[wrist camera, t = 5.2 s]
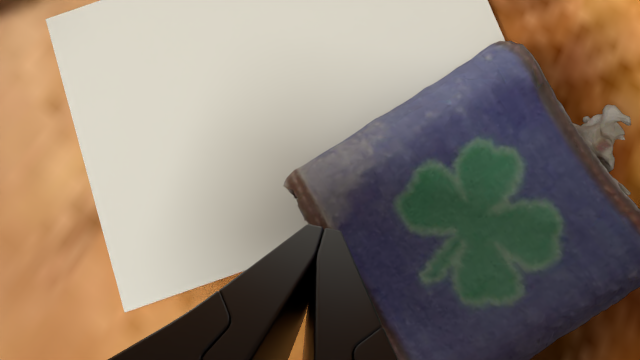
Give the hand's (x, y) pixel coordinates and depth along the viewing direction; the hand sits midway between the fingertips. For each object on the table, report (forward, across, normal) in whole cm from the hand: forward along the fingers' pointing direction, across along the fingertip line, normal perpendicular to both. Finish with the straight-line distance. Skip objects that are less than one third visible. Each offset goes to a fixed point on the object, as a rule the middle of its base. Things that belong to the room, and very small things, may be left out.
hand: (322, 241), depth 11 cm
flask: (+3, +1, -6) cm, 6 cm away
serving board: (+10, -3, -1) cm, 10 cm away
